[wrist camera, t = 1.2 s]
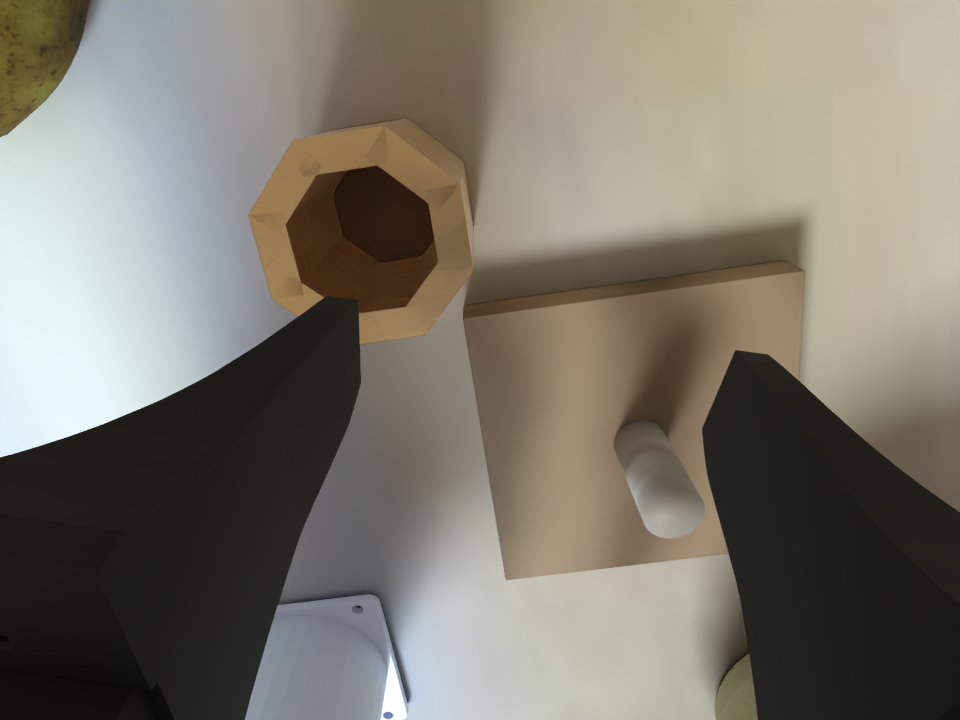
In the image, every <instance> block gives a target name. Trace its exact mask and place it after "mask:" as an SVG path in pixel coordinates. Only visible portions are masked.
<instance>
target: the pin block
mask: <svg viewBox="0 0 960 720" xmlns="http://www.w3.org/2000/svg"><path fill="white" fill-rule="evenodd" d="M804 280H805V271H804V270H802V269H800V268H799V267H797V266H795V265H793V264H791V263H789V262H787V261H778V262H771V263H764V264H757V265H750V266H742V267H735V268H728V269H721V270H714V271H707V272H700V273H693V274H686V275H679V276H672V277H664V278H657V279H650V280H643V281H636V282H629V283H622V284H615V285H608V286H601V287H594V288H587V289H579V290H572V291H565V292H558V293H551V294H544V295H537V296H530V297H523V298H516V299H509V300H501V301H494V302H487V303H480V304H473V305H466V306H464V310H463V322H464V328H465V334H466V340H467V346H468V352H469V358H470V364H471V370H472V376H473V383H474V389H475V395H476V401H477V407H478V413H479V419H480V425H481V431H482V438H483V444H484V450H485V456H486V462H487V468H488V474H489V480H490V486H491V492H492V499H493V505H494V511H495V517H496V523H497V529H498V535H499V541H500V547H501V553H502V560H503V566H504V572H505V578H506V580H512V579H520V578H529V577H537V576H545V575H554V574H562V573H570V572H579V571H587V570H596V569H604V568H612V567H621V566H629V565H637V564H646V563H654V562H662V561H671V560H679V559H687V558H696V557H704V556H713V555H721V554H729V553H728V549H727V546H726V542H725V539H724V535H723V532H722V528H721V524H720V521H719V517H718V514H717V510H716V506H715V503H714V499H713V495H712V492H711V488H710V484H709V480H708V476H707V470H706V463H705V456H704V446H703V437H702V427H703V425H704V423H705V420H706V418H707V416H708V413H709V411H710V409H711V406H712V404H713V402H714V399H715V397H716V394H717V392H718V390H719V387H720V385H721V383H722V380H723V378H724V376H725V373H726V371H727V369H728V366H729V364H730V362H731V359H732V357H733V354H734V352H735V350H739V351H747V352H754V353H762V354H768V355H769V356H771V357H772V358H773V359H775V360H776V361H777V362H778V363H779V364H781V365H782V366H783V367H784V368H785V369H786V370H787V371H789V372H790V373H791V374H792V375H793V376H794V377H795V378H796V379H797V380H799V363H800V347H801V330H802V313H803V297H804Z"/></svg>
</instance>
